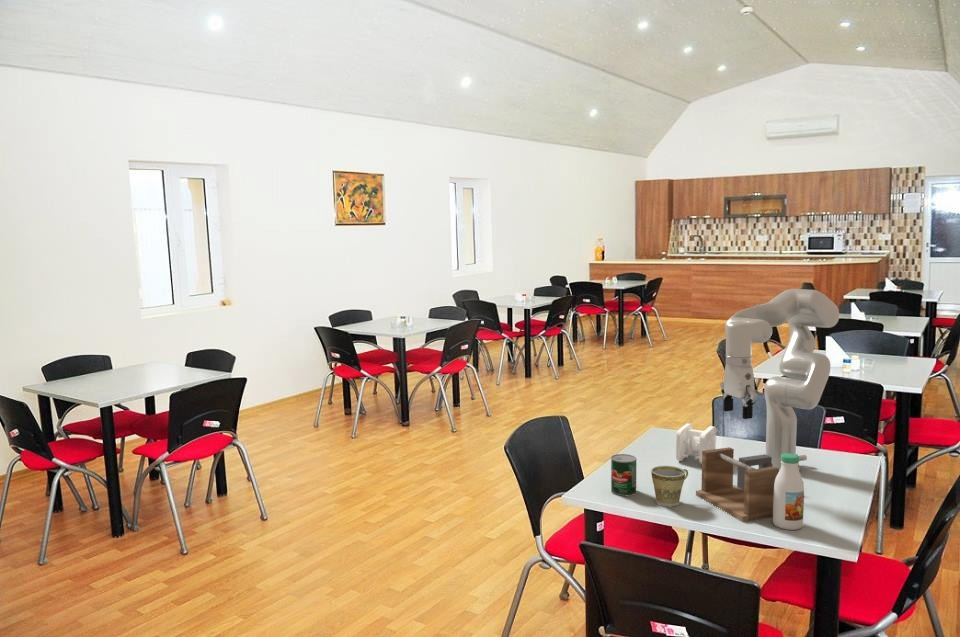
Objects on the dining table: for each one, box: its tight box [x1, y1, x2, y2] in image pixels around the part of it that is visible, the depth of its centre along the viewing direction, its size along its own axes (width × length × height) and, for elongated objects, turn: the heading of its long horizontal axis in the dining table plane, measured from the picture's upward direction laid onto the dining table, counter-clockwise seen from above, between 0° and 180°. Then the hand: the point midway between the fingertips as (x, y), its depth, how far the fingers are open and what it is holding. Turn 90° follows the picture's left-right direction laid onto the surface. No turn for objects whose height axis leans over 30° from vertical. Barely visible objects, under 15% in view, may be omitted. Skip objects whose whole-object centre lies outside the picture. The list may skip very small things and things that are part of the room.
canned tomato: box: [610, 453, 637, 497], centre depth 228 cm, size 8×8×11 cm
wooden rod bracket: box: [695, 446, 779, 523], centre depth 215 cm, size 22×14×14 cm, turn 18°
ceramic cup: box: [650, 465, 689, 507], centre depth 219 cm, size 13×10×10 cm
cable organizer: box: [675, 422, 718, 465], centre depth 258 cm, size 15×11×12 cm
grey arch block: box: [736, 453, 773, 490], centre depth 229 cm, size 10×4×10 cm, turn 108°
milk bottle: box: [772, 453, 805, 531], centre depth 199 cm, size 8×8×20 cm
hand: (737, 414), depth 228 cm, fingers open, 9 cm apart
